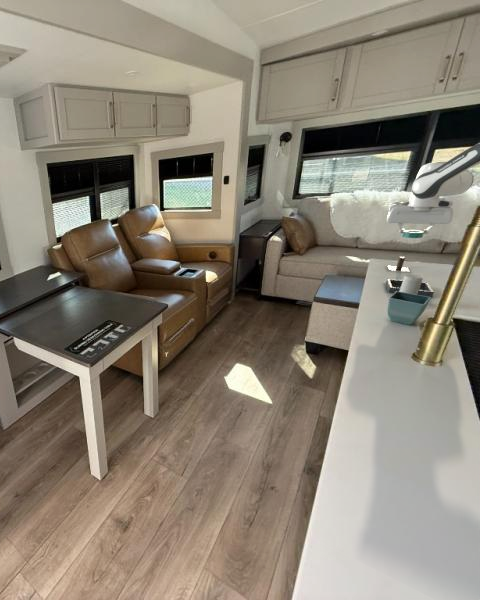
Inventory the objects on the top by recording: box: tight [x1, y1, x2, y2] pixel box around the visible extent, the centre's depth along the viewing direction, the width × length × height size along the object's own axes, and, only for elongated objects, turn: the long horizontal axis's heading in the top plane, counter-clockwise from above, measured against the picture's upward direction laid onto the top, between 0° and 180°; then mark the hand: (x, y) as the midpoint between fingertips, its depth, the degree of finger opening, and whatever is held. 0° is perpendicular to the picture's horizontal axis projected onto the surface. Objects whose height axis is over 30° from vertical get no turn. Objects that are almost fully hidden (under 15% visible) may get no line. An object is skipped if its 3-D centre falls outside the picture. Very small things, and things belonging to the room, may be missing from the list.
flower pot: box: [386, 291, 432, 326], centre depth 109 cm, size 9×9×9 cm
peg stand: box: [387, 256, 411, 273], centre depth 152 cm, size 7×7×6 cm
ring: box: [401, 229, 425, 239], centre depth 144 cm, size 6×6×2 cm
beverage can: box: [399, 274, 424, 295], centre depth 118 cm, size 5×5×12 cm
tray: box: [385, 278, 435, 299], centre depth 131 cm, size 13×12×3 cm
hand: (413, 233), depth 144 cm, fingers closed on ring, 6 cm apart
